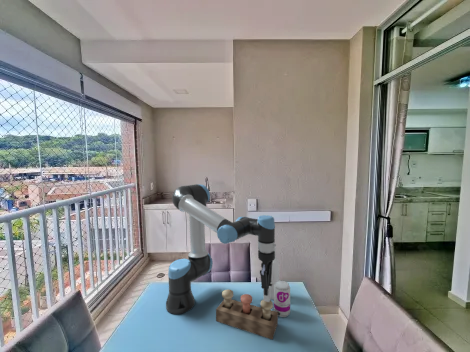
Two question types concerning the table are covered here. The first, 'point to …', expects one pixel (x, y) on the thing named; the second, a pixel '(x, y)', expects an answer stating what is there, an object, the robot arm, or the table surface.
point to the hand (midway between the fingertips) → (266, 300)
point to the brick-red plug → (246, 303)
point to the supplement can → (282, 298)
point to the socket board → (247, 319)
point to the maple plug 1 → (227, 298)
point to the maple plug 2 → (266, 309)
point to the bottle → (274, 275)
